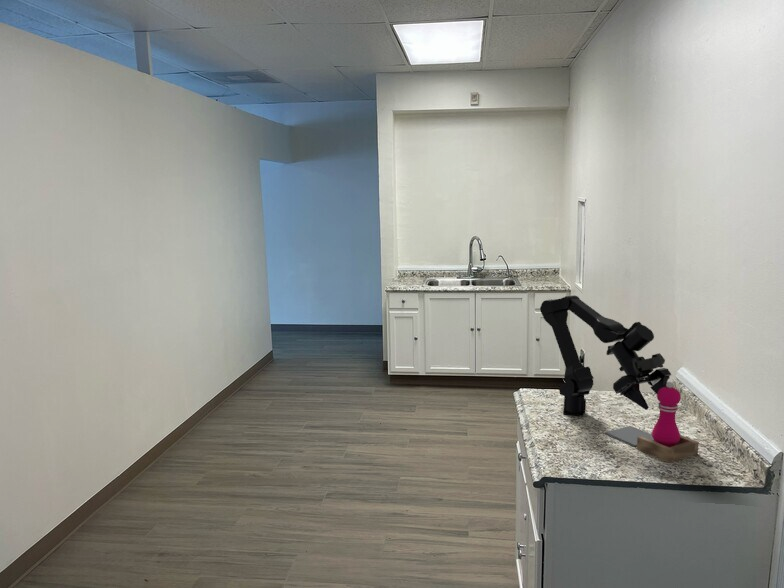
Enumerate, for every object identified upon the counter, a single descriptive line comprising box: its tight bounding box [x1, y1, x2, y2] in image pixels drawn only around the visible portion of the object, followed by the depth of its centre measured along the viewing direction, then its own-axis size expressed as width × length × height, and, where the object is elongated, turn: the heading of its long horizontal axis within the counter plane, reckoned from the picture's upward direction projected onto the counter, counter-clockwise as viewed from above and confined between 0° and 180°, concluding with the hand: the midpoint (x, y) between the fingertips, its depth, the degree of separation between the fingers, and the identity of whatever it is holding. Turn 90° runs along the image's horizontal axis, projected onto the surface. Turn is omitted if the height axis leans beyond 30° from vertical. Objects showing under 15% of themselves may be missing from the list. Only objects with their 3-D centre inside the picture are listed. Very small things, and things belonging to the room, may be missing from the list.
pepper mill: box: [651, 381, 682, 447], centre depth 169 cm, size 7×7×20 cm
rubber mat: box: [604, 425, 655, 448], centre depth 180 cm, size 11×11×1 cm
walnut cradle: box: [636, 434, 700, 464], centre depth 169 cm, size 10×12×4 cm
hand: (658, 406), depth 171 cm, fingers open, 9 cm apart
